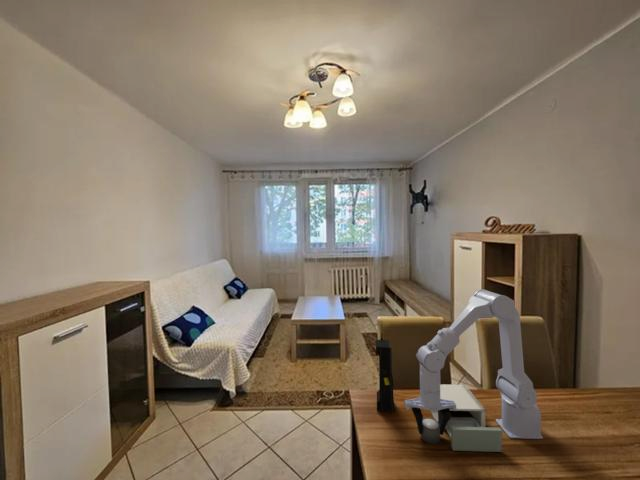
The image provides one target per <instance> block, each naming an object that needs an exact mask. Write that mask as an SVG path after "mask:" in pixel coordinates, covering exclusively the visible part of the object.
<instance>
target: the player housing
mask: <svg viewBox="0 0 640 480" xmlns="http://www.w3.org/2000/svg"><path fill="white" fill-rule="evenodd" d="M440 399H444V400H450V401H454V402H455V404H456V411H455V412H457V411H458V412H469V414H470V415H471V418H475V419H476V421H477V422H478V424H479V425H480V426H481V427H486V408H485V407H484V406H483V405H482V403H481V402H480V401H479V399H477V398H476V397H475V395H474V394H473V392H472V391H471V390H470V389H469V387H468V386H467V385H466V384H445V383H443V384H441V383H440ZM451 411H453V410H452V409H450V412H451ZM453 412H454V411H453ZM430 413H431V414H432V416H433V419H434V420H436V421H438V413H432V412H430Z"/></svg>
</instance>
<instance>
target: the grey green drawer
mask: <svg viewBox="0 0 640 480" xmlns="http://www.w3.org/2000/svg"><path fill="white" fill-rule="evenodd" d="M444 430H446V432H447V434H448V436H449V438H450V441H451V442H450V447H451V449H452V451H463V452H464V451H465V452H488V453H489V452H495V453H497V452H498V453H499V452H500V453H502V451H503V443H502V442H503V436H502V435H503V433H502V432H503V429H502V428H501V427H492V426H491V427H486V426H485V427H481V426H480V425H479V424H478V422H477V421H476V419H475V418H473V417H472V416H470V417H467V416H463V417H462V416H461V417H460V416H451V418H450V419H449V421H448V422H447V424H446V426H445V429H444Z"/></svg>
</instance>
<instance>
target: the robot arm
mask: <svg viewBox="0 0 640 480" xmlns="http://www.w3.org/2000/svg"><path fill="white" fill-rule="evenodd" d="M468 300H469V301H468V304H467V305H466V307H465V308H464V309H463V310H462V312H461V313H460V314H459V315H458V317H457V318H456V319H455V320H454V321H453V322H452V324H451V325H450V326H449V327H443V328H442V329H439V330H438V331H437V334H436V335H434V337H433V338H432V339H431V340H430V341H429V342H427V343H426V345H425V344H424V345H422V346H420V348H418V350H417V353H416V354H415V357H416V359H417V360H418V362H419V397H416V398H411V399H405V400H404V407H405V410H406V411H409V410H412V413H413V415H414V418H415V421H416V425H417V431H418V434H419V435H421V434H422V419H423V418H424V415H423V414H422V410H426V411H429V412H430V413H431V412H432V413H438V422H439V424H440V436H443V435H444V433H445V430H446V429H445V426H446V424H447V422H448V421H449V419H450V418H451V417H452V412H451V411H450V409H452V410H453V412H457V411H456V404H455V402H454V401H450V400H444V399H440V384H441V370H442V369H444V367H445V363H446V359H447V357H448V355H449V354H450V353H451V352H452V351H453V350H454V349H455V348H456V347H457V346H458V345H459V344H460V336H461V335H462V334H463V333H465V331H467V329H469V328H470V327H471V326H472V325H474V324H475V323H476V322H477V321H478V320H479V319H494V318H496V319H497V320H498V329H499V339H500V352H501V363H502V368H500V369H498V370H497V377H496V380H495V386H496V389H497V390H498V391H499V394H500V396H501V418H496V419H495V422H496V424H498V425H499V428H500V429H501V430H502V431H504V433H505V434H506V435H507V436H508V438H510V439H529V440H530V439H534V440H542V439H543V438H544V437H543V436H542V426H541V425H542V414H541V411H540V409H539V407H538V405H537V404H536V403H537V400H538V395H537V392H536V390H535V388H534V383H533V381H532V379H530V378H529V376H528V375H527V374H526V373H525V366H524V353H523V340H522V328H521V326H522V325H521V315H520V312H519V311H518V309H517V308H516V305H515V304H516V303H515V300H513V299H512V298H510V297H509V296H507V295H504V294H503V295H502V294H499V293H497V292H492V291H489V290H487V289H483V288H482V289H478V290H476V291H475V293H474V294H473V295H472V296H471V297H470V298H469V299H468ZM421 409H422V410H421ZM432 413H431V414H432Z"/></svg>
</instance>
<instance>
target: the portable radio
mask: <svg viewBox="0 0 640 480" xmlns="http://www.w3.org/2000/svg"><path fill="white" fill-rule="evenodd" d="M380 335H381V336H380V339H376V340H375V353H376V354H375V355H377V356H378V363H379V364H378V369H379V370H378V375H379V377H378V378H379V380H378V381H379V384H378V385H379V386H378V387H379V388H378V390H377V391H376V410H377V411H379V412H386V413H393V412H394V411H395V400H394V399H395V398H394V387H395V386H394V378H393V372H392V371H393V368H392V367H393V364H392V362H393V360H392V359H393V358H392V354H393V353H392V343H391V341H390V339H384V338H383V332H382V333H380Z"/></svg>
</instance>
